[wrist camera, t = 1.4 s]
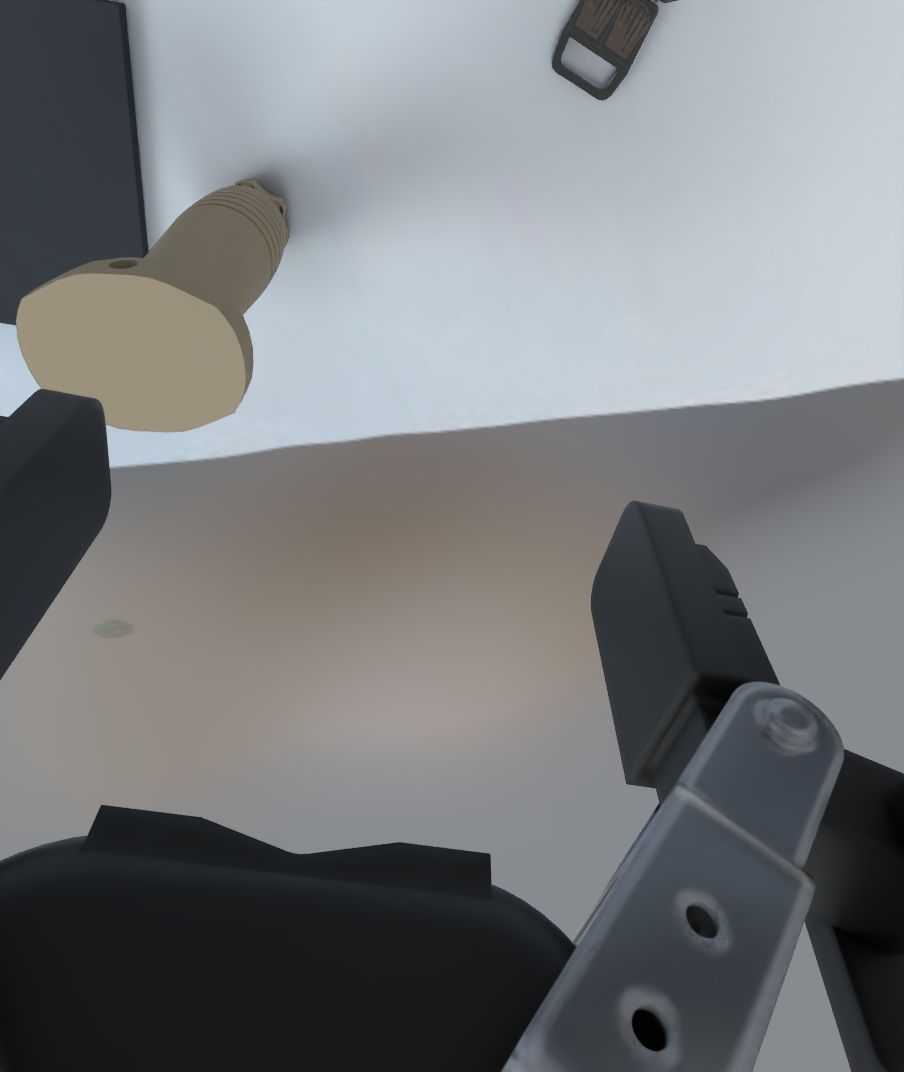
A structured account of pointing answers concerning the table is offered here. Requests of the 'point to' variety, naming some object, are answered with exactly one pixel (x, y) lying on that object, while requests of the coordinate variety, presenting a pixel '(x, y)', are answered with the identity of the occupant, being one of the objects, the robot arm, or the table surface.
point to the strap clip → (606, 37)
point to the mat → (65, 143)
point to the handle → (162, 317)
